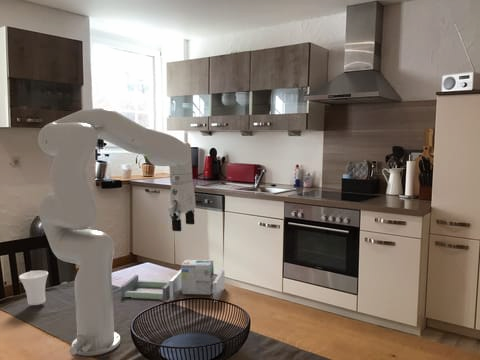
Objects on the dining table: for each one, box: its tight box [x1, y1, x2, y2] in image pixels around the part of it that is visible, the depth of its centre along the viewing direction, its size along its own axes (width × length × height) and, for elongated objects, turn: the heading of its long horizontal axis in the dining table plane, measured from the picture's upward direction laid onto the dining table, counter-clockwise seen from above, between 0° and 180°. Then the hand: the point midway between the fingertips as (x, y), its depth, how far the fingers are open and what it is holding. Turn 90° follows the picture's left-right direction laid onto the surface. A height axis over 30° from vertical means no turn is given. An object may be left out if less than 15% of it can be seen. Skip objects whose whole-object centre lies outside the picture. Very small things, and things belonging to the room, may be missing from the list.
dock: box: [120, 274, 170, 300], centre depth 156 cm, size 12×16×4 cm
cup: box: [18, 270, 49, 306], centre depth 144 cm, size 9×9×10 cm
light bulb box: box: [180, 259, 215, 295], centre depth 152 cm, size 11×7×11 cm, turn 84°
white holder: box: [168, 268, 226, 302], centre depth 153 cm, size 14×16×7 cm
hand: (183, 227), depth 148 cm, fingers open, 9 cm apart
